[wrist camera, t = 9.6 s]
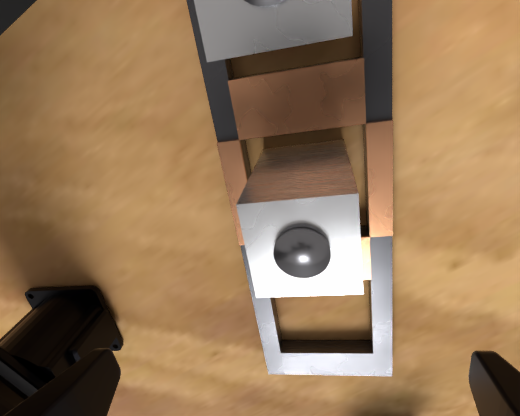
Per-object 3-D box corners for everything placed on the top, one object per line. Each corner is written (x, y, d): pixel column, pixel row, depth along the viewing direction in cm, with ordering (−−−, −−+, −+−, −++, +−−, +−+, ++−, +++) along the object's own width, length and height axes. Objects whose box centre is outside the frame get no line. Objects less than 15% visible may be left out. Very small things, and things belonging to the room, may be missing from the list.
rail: (389, 362, 25) (392, 378, 24) (270, 361, 27) (268, 376, 26) (385, -200, 13) (393, -226, 12) (166, -131, 15) (152, -147, 13)
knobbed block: (275, 217, 21) (255, 302, 14) (263, 148, 20) (234, 208, 13) (348, 211, 20) (364, 299, 14) (343, 139, 19) (359, 196, 12)
